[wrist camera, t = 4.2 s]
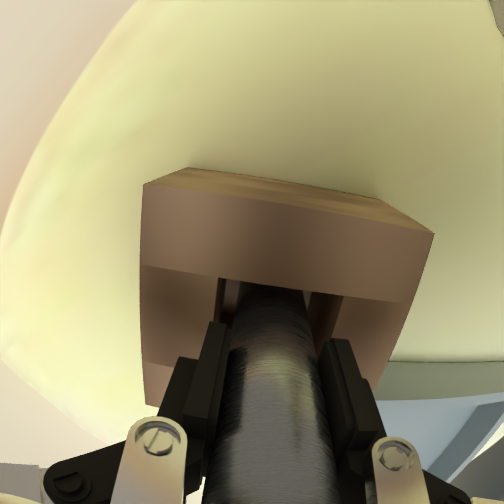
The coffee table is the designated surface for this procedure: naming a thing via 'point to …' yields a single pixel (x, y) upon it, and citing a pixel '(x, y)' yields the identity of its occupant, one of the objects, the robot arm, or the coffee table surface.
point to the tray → (442, 410)
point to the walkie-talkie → (498, 13)
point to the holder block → (271, 264)
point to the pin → (271, 408)
